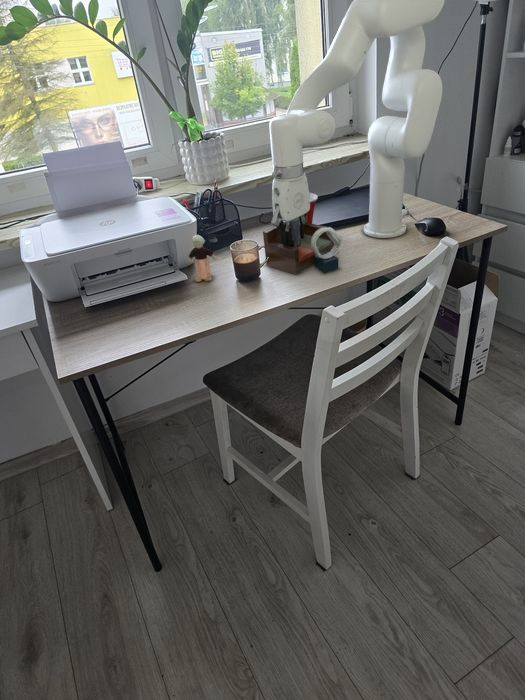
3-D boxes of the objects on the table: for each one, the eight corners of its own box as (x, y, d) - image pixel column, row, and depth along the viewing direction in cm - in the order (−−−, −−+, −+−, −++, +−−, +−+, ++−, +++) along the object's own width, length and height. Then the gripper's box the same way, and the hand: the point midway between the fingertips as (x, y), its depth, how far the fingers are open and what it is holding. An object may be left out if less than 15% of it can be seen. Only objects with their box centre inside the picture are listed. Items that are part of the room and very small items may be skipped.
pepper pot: (304, 243, 125) (303, 214, 121) (294, 249, 123) (292, 220, 118) (292, 240, 128) (290, 212, 123) (281, 246, 126) (279, 217, 121)
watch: (344, 267, 124) (344, 227, 118) (318, 275, 122) (316, 235, 115) (334, 259, 128) (333, 221, 122) (308, 267, 126) (306, 228, 120)
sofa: (304, 244, 139) (303, 211, 133) (334, 251, 132) (334, 217, 127) (266, 265, 130) (262, 231, 124) (296, 275, 123) (293, 239, 117)
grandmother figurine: (192, 284, 125) (182, 240, 118) (191, 278, 128) (182, 234, 121) (220, 279, 126) (212, 235, 118) (218, 273, 129) (211, 230, 122)
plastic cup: (326, 234, 144) (325, 195, 137) (295, 243, 140) (293, 204, 133) (307, 224, 152) (306, 187, 145) (279, 232, 148) (275, 195, 141)
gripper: (276, 182, 107) (282, 255, 118) (321, 163, 117) (323, 232, 127) (253, 178, 112) (261, 249, 122) (298, 161, 121) (302, 227, 132)
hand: (292, 240), depth 125 cm, fingers closed on pepper pot, 4 cm apart
